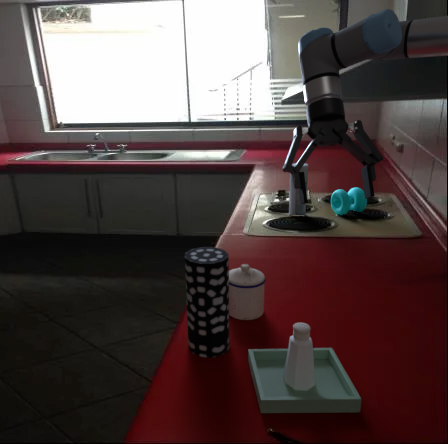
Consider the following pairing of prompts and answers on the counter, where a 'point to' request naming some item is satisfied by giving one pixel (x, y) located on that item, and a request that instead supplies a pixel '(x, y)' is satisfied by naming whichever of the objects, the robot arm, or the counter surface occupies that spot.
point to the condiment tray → (297, 399)
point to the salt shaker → (300, 359)
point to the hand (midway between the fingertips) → (336, 200)
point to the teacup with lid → (246, 293)
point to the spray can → (297, 195)
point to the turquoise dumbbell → (348, 201)
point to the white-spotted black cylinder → (207, 301)
